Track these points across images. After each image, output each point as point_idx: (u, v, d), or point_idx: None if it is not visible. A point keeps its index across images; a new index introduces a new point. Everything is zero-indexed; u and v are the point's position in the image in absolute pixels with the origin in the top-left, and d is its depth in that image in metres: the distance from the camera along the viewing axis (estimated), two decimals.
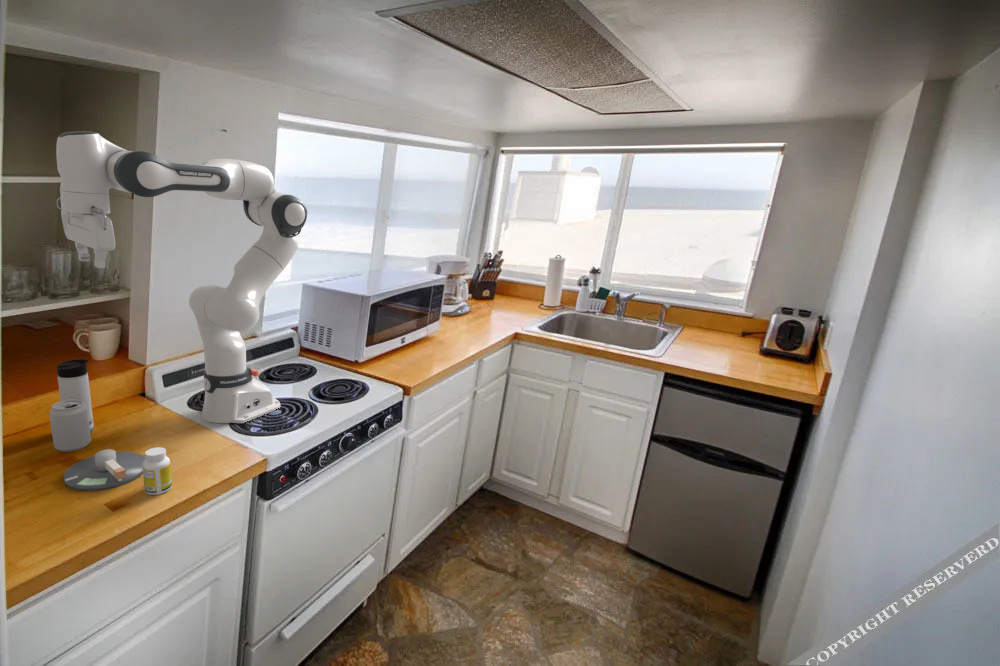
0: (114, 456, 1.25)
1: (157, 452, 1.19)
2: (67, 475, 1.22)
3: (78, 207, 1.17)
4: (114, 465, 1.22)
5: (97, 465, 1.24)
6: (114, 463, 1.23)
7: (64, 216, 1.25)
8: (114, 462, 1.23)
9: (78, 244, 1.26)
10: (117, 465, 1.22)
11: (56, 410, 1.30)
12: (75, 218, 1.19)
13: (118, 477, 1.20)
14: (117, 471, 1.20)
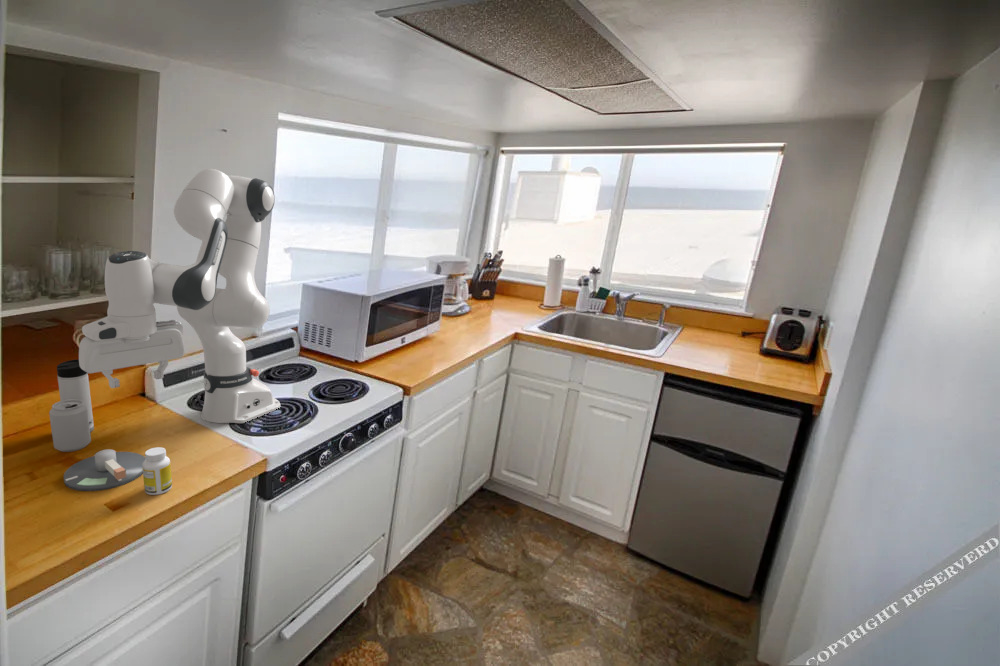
0: (114, 456, 1.25)
1: (157, 452, 1.19)
2: (67, 475, 1.22)
3: (155, 326, 1.19)
4: (114, 465, 1.22)
5: (97, 465, 1.24)
6: (114, 463, 1.23)
7: (96, 348, 1.12)
8: (114, 462, 1.23)
9: None
10: (117, 465, 1.22)
11: (56, 410, 1.30)
12: (146, 339, 1.18)
13: (118, 477, 1.20)
14: (117, 471, 1.20)
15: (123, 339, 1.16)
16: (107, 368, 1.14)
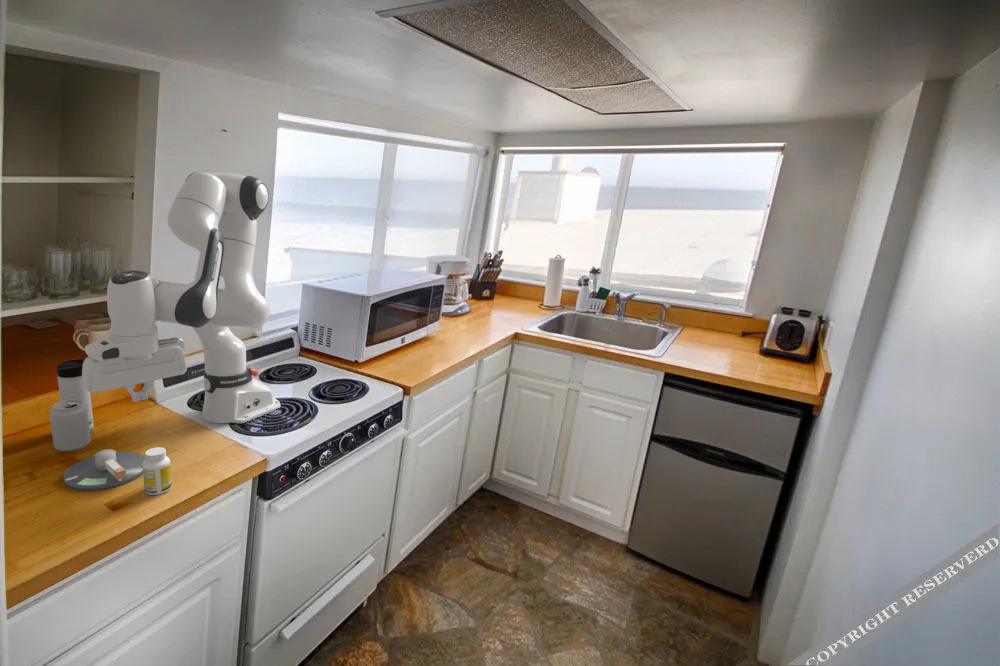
0: (114, 456, 1.25)
1: (157, 452, 1.19)
2: (67, 475, 1.22)
3: (157, 344, 1.21)
4: (114, 465, 1.22)
5: (97, 465, 1.24)
6: (114, 463, 1.23)
7: (99, 368, 1.13)
8: (114, 462, 1.23)
9: None
10: (117, 465, 1.22)
11: (56, 410, 1.30)
12: (149, 357, 1.20)
13: (118, 477, 1.20)
14: (117, 471, 1.20)
15: (126, 358, 1.17)
16: (110, 387, 1.16)
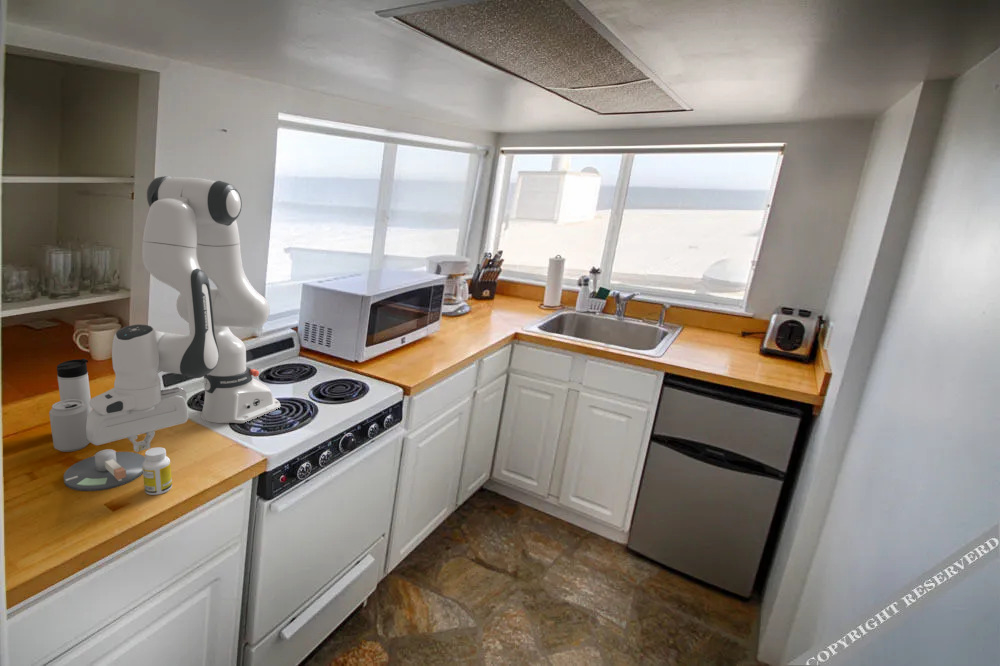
0: (114, 456, 1.25)
1: (157, 452, 1.19)
2: (67, 475, 1.22)
3: (160, 396, 1.24)
4: (114, 465, 1.22)
5: (97, 465, 1.24)
6: (114, 463, 1.23)
7: (103, 421, 1.16)
8: (114, 462, 1.23)
9: None
10: (117, 465, 1.22)
11: (56, 410, 1.30)
12: (151, 409, 1.22)
13: (118, 477, 1.20)
14: (117, 471, 1.20)
15: (129, 410, 1.19)
16: (113, 439, 1.18)
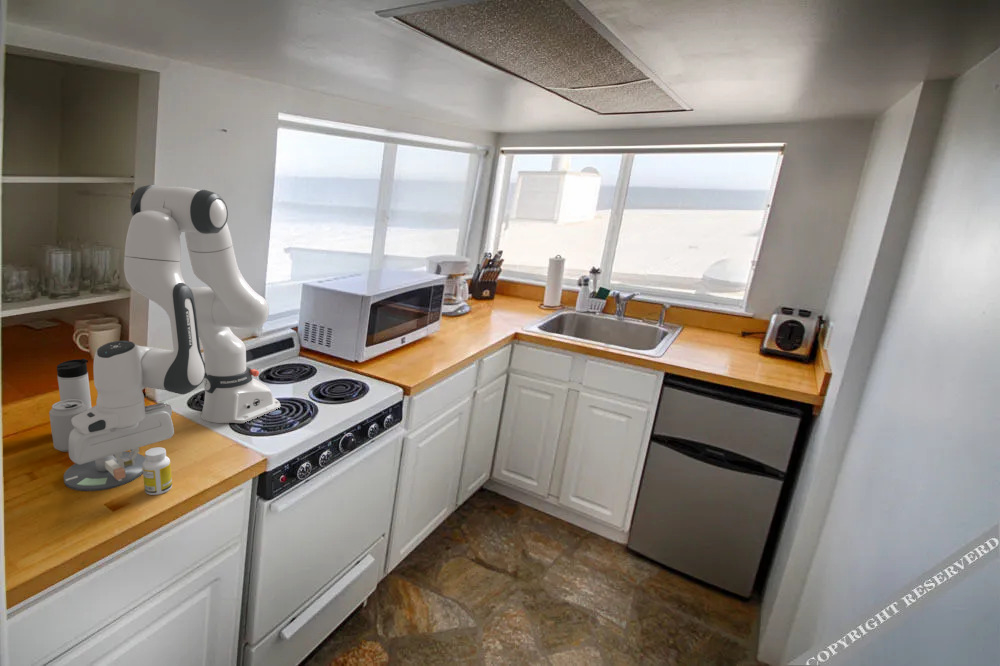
0: None
1: (157, 452, 1.19)
2: (67, 475, 1.22)
3: (144, 412, 1.22)
4: (114, 466, 1.22)
5: (97, 465, 1.24)
6: (114, 463, 1.23)
7: (86, 440, 1.14)
8: (114, 462, 1.23)
9: None
10: (117, 465, 1.22)
11: (56, 410, 1.30)
12: (135, 426, 1.21)
13: (117, 477, 1.20)
14: (116, 471, 1.20)
15: (112, 428, 1.18)
16: (97, 458, 1.16)
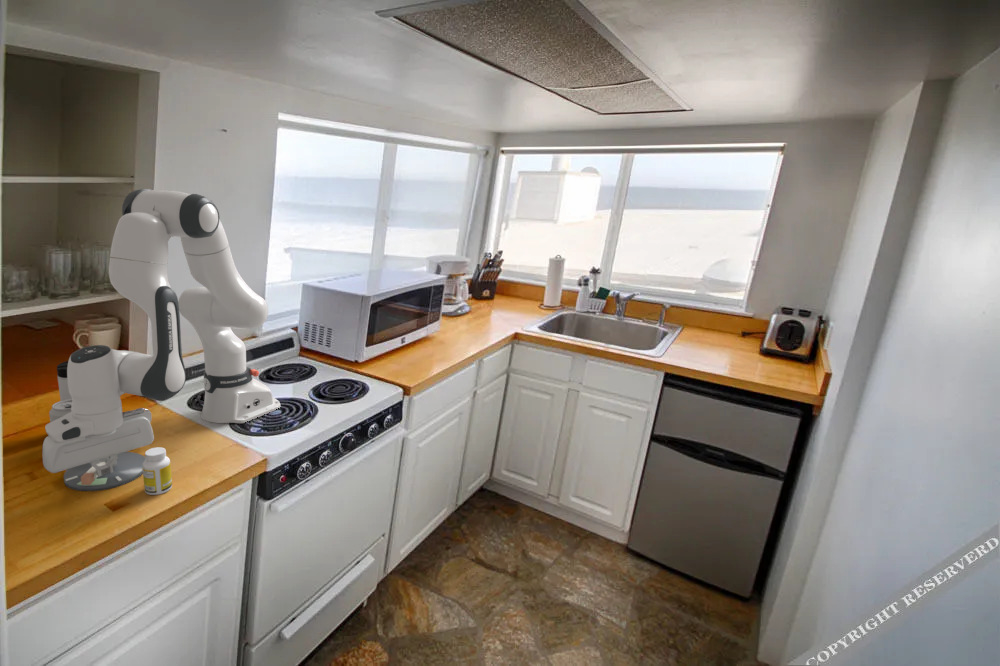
0: None
1: (157, 452, 1.19)
2: (67, 475, 1.22)
3: (121, 419, 1.18)
4: (92, 469, 1.20)
5: None
6: None
7: (60, 448, 1.10)
8: (99, 465, 1.22)
9: None
10: (95, 469, 1.20)
11: (56, 410, 1.30)
12: (112, 432, 1.17)
13: (82, 482, 1.17)
14: (83, 476, 1.17)
15: (88, 435, 1.14)
16: (72, 466, 1.13)
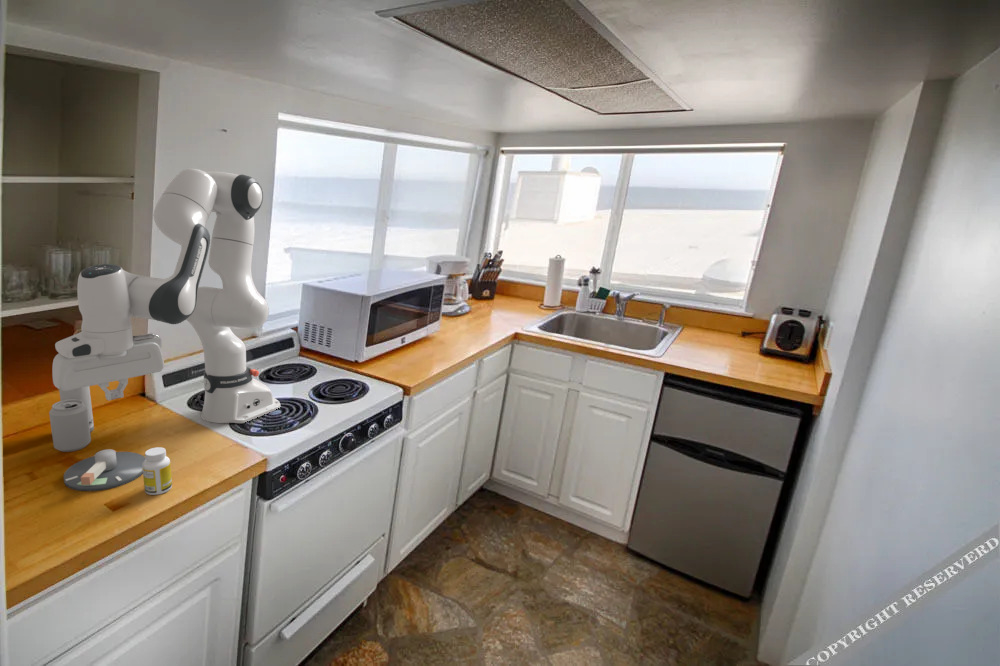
0: (108, 459, 1.24)
1: (157, 452, 1.19)
2: (67, 475, 1.22)
3: (132, 341, 1.16)
4: (92, 469, 1.20)
5: None
6: (98, 466, 1.21)
7: (70, 365, 1.08)
8: (99, 465, 1.22)
9: None
10: (94, 469, 1.20)
11: (56, 410, 1.30)
12: (123, 354, 1.15)
13: (82, 482, 1.17)
14: (83, 476, 1.17)
15: (98, 355, 1.12)
16: (82, 385, 1.11)
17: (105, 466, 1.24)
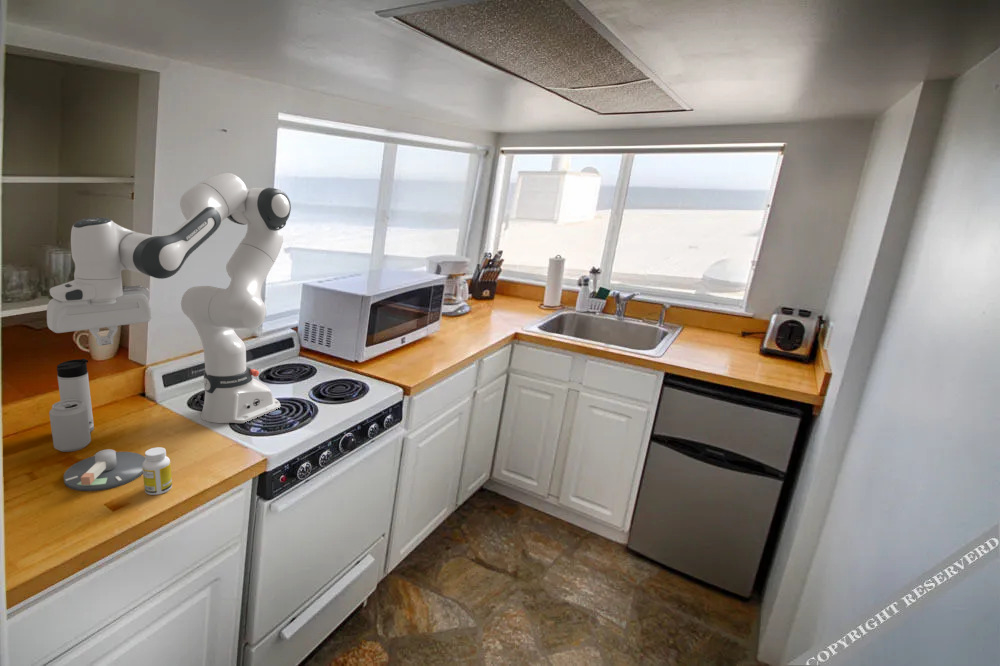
0: (108, 459, 1.24)
1: (157, 452, 1.19)
2: (67, 475, 1.22)
3: (121, 290, 1.25)
4: (92, 469, 1.20)
5: None
6: (98, 466, 1.21)
7: (63, 308, 1.17)
8: (99, 465, 1.22)
9: None
10: (94, 469, 1.20)
11: (56, 410, 1.30)
12: (112, 302, 1.24)
13: (82, 482, 1.17)
14: (83, 476, 1.17)
15: (90, 301, 1.21)
16: (74, 329, 1.20)
17: (105, 466, 1.24)
